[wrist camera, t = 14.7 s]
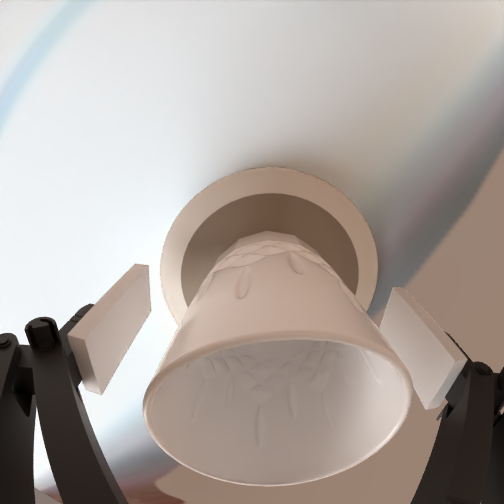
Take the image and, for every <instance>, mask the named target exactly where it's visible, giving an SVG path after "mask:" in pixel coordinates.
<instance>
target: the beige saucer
mask: <svg viewBox="0 0 504 504" xmlns="http://www.w3.org/2000/svg"><path fill="white" fill-rule="evenodd" d="M263 231H273V232H279V233H285V234H291V235H295V236H297V237H298V238H300V239H301V240H302V241H304V242H305V243H307V244H308V245H309V246H311V247H312V248H314V249H315V250H316V251H317V252H318V253H319V254H320V256H321V257H322V258H323V260H324V261H326V262H327V263H328V264H329V265H330V266H331V268H332V269H333V270H334V271H335V272H336V273H337V274H338V276H339V277H340V278H341V280H342V281H343V282H344V283H345V284H346V285H347V286H348V288H349V289H350V290H351V291H352V293H353V294H354V295H355V297H356V298H357V299H358V301H359V302H360V303H361V305H362V306H363V308H364V309H365V310H366V312H367V310H368V308H369V306H370V303H371V301H372V298H373V295H374V292H375V287H376V283H377V274H378V259H377V251H376V246H375V242H374V239H373V236H372V233H371V230H370V228H369V226H368V224H367V222H366V221H365V219H364V217H363V215H362V214H361V213H360V211H359V210H358V209H357V207H356V206H355V205H354V204H353V203H352V202H351V201H350V200H349V199H348V198H347V197H346V196H345V195H344V194H343V193H342V192H340V191H339V190H338V189H336V188H335V187H333V186H332V185H330V184H329V183H327V182H325V181H323V180H321V179H319V178H317V177H314V176H311V175H308V174H306V173H303V172H300V171H296V170H291V169H286V168H273V167H265V168H254V169H249V170H245V171H240V172H237V173H234V174H232V175H229V176H227V177H224V178H222V179H220V180H219V181H217V182H215V183H213V184H212V185H210V186H208V187H207V188H205V189H204V190H203V191H201V192H200V193H199V194H197V195H196V196H195V197H194V198H193V199H192V200H191V201H190V202H189V203H188V204H187V205H186V206H185V207H184V208H183V209H182V211H181V212H180V213H179V215H178V216H177V218H176V219H175V220H174V222H173V224H172V226H171V228H170V230H169V232H168V234H167V237H166V240H165V243H164V246H163V250H162V256H161V264H160V277H161V287H162V291H163V295H164V299H165V301H166V304H167V306H168V309H169V311H170V313H171V315H172V316H173V318H174V320H175V322H176V323H177V324H178V326H179V324H180V322H181V320H182V318H183V316H184V314H185V312H186V311H187V309H188V307H189V305H190V303H191V302H192V300H193V298H194V297H195V295H196V294H197V292H198V290H199V288H200V286H201V285H202V283H203V281H204V280H205V278H206V277H207V275H208V274H209V273H210V271H211V270H212V269H213V267H214V265H215V263H216V260H217V258H218V257H219V256H220V255H221V254H222V253H223V252H224V251H225V250H227V249H228V248H229V247H230V246H231V245H232V244H233V243H234V242H235V241H237V240H238V239H239V238H242V237H246V236H249V235H253V234H256V233H260V232H263Z"/></svg>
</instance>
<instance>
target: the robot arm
mask: <svg viewBox="0 0 504 504" xmlns="http://www.w3.org/2000/svg"><path fill="white" fill-rule="evenodd" d="M150 312H151V300H150V285H149V265H142V264H134V265H133V266H132V267H131V268H130V269H129V270H128V271H127V272H126V273H125V274H124V275H123V276H122V277H121V278H120V279H119V280H118V281H117V282H116V283H115V284H114V285H113V286H112V287H111V288H110V289H109V290H108V291H107V292H106V293H105V294H104V296H103V297H102V298H101V299H100V300H99V301H98V302H97V303H96V304H95V305H94V304H88V305H86V306H84V307H82V308H81V309H80V310H79V311H78V312H77V313H76V314H75V316H73V317H72V318H71V319H70V321H68V322H67V323H66V324H65V325H64V326H63V327H62V328H61V329H60V330H59V331H58V328H57V324H56V322H55V320H54V319H52V318H49V317H39V318H35V319H33V320H31V321H30V322H29V323H28V324H27V325H26V326H25V333H26V336H27V338H28V341H29V344H30V345H19V342H18V339H17V337H16V336H15V335H14V334H12V333H3V334H0V504H35V495H34V474H33V450H34V429H35V417H36V407H37V409H38V415H39V421H40V426H41V431H42V435H43V440H44V444H45V448H46V452H47V456H48V459H49V463H50V466H51V469H52V473H53V476H54V479H55V482H56V485H57V488H58V490H59V493H60V496H61V498H62V501H63V503H64V504H129V503H128V502H127V500H126V498H125V496H124V495H123V493H122V491H121V489H120V487H119V485H118V484H117V482H116V480H115V478H114V476H113V474H112V472H111V470H110V468H109V466H108V464H107V461H106V459H105V457H104V455H103V453H102V450H101V448H100V446H99V443H98V441H97V439H96V436H95V434H94V431H93V428H92V426H91V423H90V421H89V418H88V415H87V412H86V409H85V406H84V403H83V400H82V397H81V394H80V391H79V389H78V385H79V384H80V382H81V381H83V384H84V387H85V389H86V390H87V391H90V392H93V393H97V394H100V395H102V394H103V392H104V391H105V389H106V387H107V385H108V383H109V382H110V380H111V378H112V376H113V375H114V373H115V371H116V369H117V368H118V366H119V364H120V362H121V361H122V359H123V357H124V355H125V354H126V352H127V350H128V349H129V347H130V345H131V344H132V342H133V340H134V339H135V337H136V335H137V334H138V332H139V330H140V329H141V327H142V325H143V324H144V322H145V321H146V319H147V317H148V316H149V314H150ZM379 330H380V331H381V332H382V334H383V335H384V337H385V338H386V339H387V341H388V342H389V344H390V345H391V346H392V348H393V349H394V351H395V352H396V353H397V355H398V356H399V358H400V359H401V360H402V362H403V363H404V365H405V366H406V368H407V370H408V371H409V374H410V376H411V379H412V383H413V387H414V389H415V391H416V393H417V395H418V396H419V398H420V400H421V402H422V404H423V406H424V407H425V409H426V410H428V409H432V408H437V407H439V405H440V404H441V403H442V401H443V399H444V398H446V400H447V401H448V403H447V405H446V406H445V407H444V409H443V410H442V412H441V413H440V415H439V416H438V417H437V419H436V420H439V419H440V417H442V419H441V423H440V426H439V430H438V433H437V437H436V440H435V443H434V446H433V449H432V452H431V455H430V458H429V461H428V463H427V466H426V469H425V471H424V474H423V476H422V479H421V481H420V484H419V486H418V489H417V491H416V493H415V495H414V497H413V500H412V502H411V504H480V503H481V504H504V413H503V414H502V415H501V413H500V410H501V409H502V408H503V406H504V367H503V369H502V370H501V372H500V373H493V371H492V369H491V368H490V367H489V366H487V365H486V364H484V363H482V362H474V363H473V362H472V361H471V359H470V358H469V357H468V356H467V354H466V353H465V352H464V351H463V350H462V349H461V348H459V345H458V344H457V343H455V340H454V339H453V338H452V337H451V336H450V335H449V334H447V333H446V332H445V331H443V330H442V329H441V327H440V326H439V325H438V324H437V323H436V322H435V321H434V320H433V319H432V317H431V316H430V315H429V314H428V313H427V312H426V311H425V310H424V309H423V308H422V307H421V306H420V304H419V303H418V302H417V301H416V300H415V299H414V298H413V297H412V296H411V295H410V294H409V293H408V292H407V291H406V290H405V289H404V288H399V287H392V291H391V294H390V297H389V300H388V304H387V307H386V310H385V313H384V316H383V319H382V322H381V324H380V328H379Z"/></svg>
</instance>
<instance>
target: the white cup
mask: <svg viewBox="0 0 504 504" xmlns="http://www.w3.org/2000/svg"><path fill="white" fill-rule="evenodd" d="M412 400H413V383H412V379H411V376H410V374H409V371H408V370H407V368H406V366H405V365H404V363H403V362H402V360H401V359H400V358H399V356H398V355H397V353H396V352H395V351H394V349H393V348H392V346H391V345H390V344H389V342H388V341H387V339H386V338H385V337H384V335H383V334H382V332H381V331H380V330H379V328H378V327H377V325H376V324H375V323H374V321H373V320H372V319H371V317H370V316H369V314H368V313H367V312H366V310H365V309H364V308H363V306H362V305H361V303H360V302H359V301H358V299H357V298H356V297H355V295H354V294H353V293H352V291H351V290H350V289H349V288H348V286H347V285H346V284H345V283H344V282H343V281H342V280H341V278H340V277H339V276H338V274H337V273H336V272H335V271H334V270H333V269H332V268H331V266H330V265H329V264H328V263H327V262H326V261H324V260H323V258H322V257H321V256H320V254H319V253H318V252H317V251H316V250H315V249H314V248H312V247H311V246H309V245H308V244H307V243H305V242H304V241H302V240H301V239H300V238H298V237H297V236H295V235H291V234H285V233H279V232H273V231H263V232H260V233H256V234H253V235H249V236H246V237H242V238H239V239H238V240H237V241H235V242H234V243H233V244H232V245H231V246H230V247H229V248H228V249H227V250H225V251H224V252H223V253H222V254H221V255H220V256H219V257H218V258H217V260H216V263H215V265H214V267H213V269H212V270H211V271H210V273H209V274H208V275H207V277H206V278H205V280H204V281H203V283H202V285H201V286H200V288H199V290H198V292H197V294H196V295H195V297H194V298H193V300H192V302H191V303H190V305H189V307H188V309H187V311H186V312H185V314H184V316H183V318H182V320H181V322H180V324H179V326H178V328H177V330H176V332H175V334H174V336H173V338H172V340H171V342H170V344H169V346H168V348H167V350H166V352H165V354H164V356H163V358H162V360H161V362H160V364H159V366H158V368H157V370H156V372H155V374H154V376H153V378H152V380H151V382H150V384H149V386H148V388H147V390H146V392H145V395H144V399H143V418H144V422H145V425H146V427H147V429H148V431H149V433H150V435H151V436H152V438H153V439H154V441H155V442H156V443H157V444H158V445H159V446H160V448H161V449H162V450H164V451H165V452H166V453H167V454H168V455H169V456H171V457H172V458H173V459H175V460H176V461H178V462H179V463H181V464H182V465H184V466H186V467H188V468H190V469H192V470H194V471H196V472H198V473H201V474H203V475H206V476H209V477H211V478H215V479H218V480H222V481H226V482H231V483H236V484H243V485H252V486H284V485H293V484H300V483H306V482H311V481H314V480H319V479H322V478H326V477H329V476H332V475H335V474H337V473H340V472H342V471H344V470H347V469H349V468H351V467H353V466H355V465H357V464H359V463H360V462H362V461H364V460H366V459H367V458H369V457H370V456H371V455H373V454H375V453H376V452H377V451H378V450H380V449H381V448H382V447H383V446H384V445H386V444H387V442H389V440H391V439H392V438H393V436H394V435H395V434H396V433H397V432H398V430H399V429H400V428H401V426H402V425H403V423H404V421H405V420H406V417H407V416H408V414H409V411H410V408H411V405H412Z"/></svg>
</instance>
